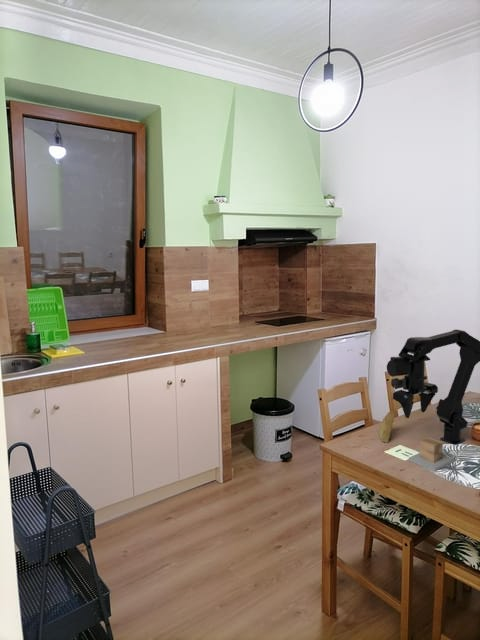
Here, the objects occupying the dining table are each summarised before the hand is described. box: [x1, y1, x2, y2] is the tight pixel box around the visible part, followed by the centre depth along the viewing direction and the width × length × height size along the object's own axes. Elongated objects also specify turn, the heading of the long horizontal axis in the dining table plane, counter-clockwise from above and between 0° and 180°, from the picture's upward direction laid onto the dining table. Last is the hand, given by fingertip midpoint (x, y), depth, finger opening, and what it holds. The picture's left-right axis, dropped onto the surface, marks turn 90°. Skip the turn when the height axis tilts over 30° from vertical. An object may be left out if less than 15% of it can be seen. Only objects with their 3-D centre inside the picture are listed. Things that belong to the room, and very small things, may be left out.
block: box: [420, 437, 444, 463], centre depth 156 cm, size 5×5×6 cm
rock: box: [378, 411, 396, 443], centre depth 177 cm, size 11×9×10 cm
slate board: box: [408, 451, 455, 472], centre depth 157 cm, size 11×10×1 cm
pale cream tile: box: [384, 444, 421, 462], centre depth 164 cm, size 9×9×1 cm
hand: (415, 414), depth 166 cm, fingers open, 9 cm apart
